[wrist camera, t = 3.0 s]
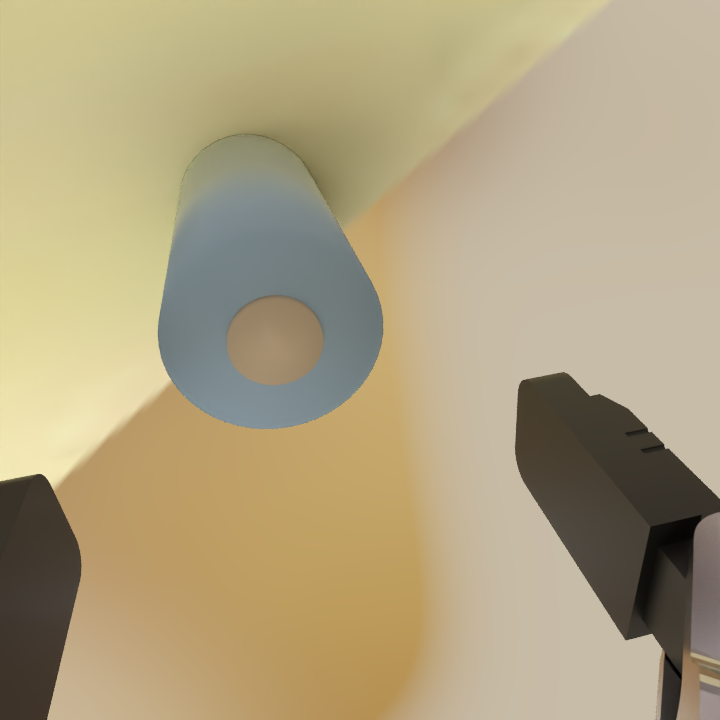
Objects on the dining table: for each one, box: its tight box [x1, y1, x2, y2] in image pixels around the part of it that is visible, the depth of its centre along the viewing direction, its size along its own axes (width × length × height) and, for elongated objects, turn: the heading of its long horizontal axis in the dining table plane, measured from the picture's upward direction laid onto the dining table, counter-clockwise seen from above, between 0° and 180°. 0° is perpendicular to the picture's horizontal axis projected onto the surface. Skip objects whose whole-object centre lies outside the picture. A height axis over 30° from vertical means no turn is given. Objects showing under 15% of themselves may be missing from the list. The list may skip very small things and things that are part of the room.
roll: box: [158, 134, 383, 429], centre depth 19 cm, size 5×5×11 cm
